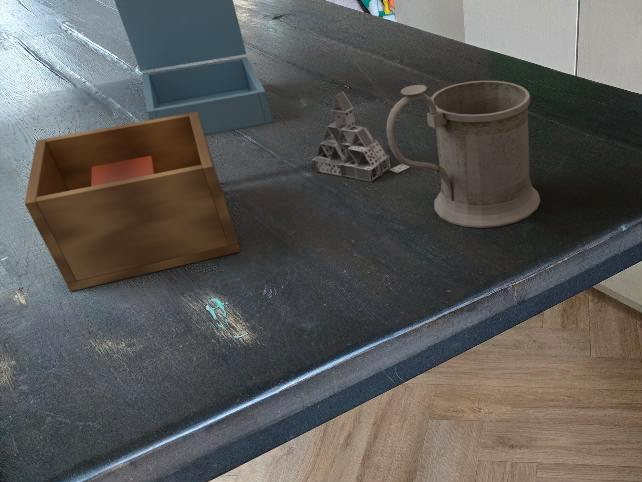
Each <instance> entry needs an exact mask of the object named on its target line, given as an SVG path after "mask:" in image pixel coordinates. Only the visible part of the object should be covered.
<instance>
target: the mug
mask: <svg viewBox="0 0 642 482" xmlns="http://www.w3.org/2000/svg"><path fill="white" fill-rule="evenodd" d="M427 88H428V87H427V86H426V85H424V84H414V85H408V86H406V87H404V88H402V89H401V90H400V94H401V95H404V96H403V97H402V98H401V99H400V100H399V101H397V102H396V103H395V104H394V105H393V106H392V108H391V109H390V112H389V114H388V117H387V121H386V137H387V141H388V145H389V147H390V150H391V152H392V154H393V155H394V158H395V159H396V160H398V162H400V164H404V165H407V166H409V168H413V169H414V168H415V169H424V170H425V169H426V170H431V171H433V172H434V174H436V175H438V177H440V181H441V184H440V192H439V193H438V194H437V196H436V198H435V199H434V202H433V204H434V211H435V213H436V214H437V216H439V218H441V219H442V220H444V221H446V222H447V223H450V224H452V225H456V226H459V227H460V226H461V227H464V228H476V229H488V228H499V227H505V226H508V225H512V224H516V223H518V222H520V221H523V220H524V219H527V218H529V217H530V216H531V215H532V214H534V213H535V212H536V211H537V210H538V209H539V205H540V204H541V197H540V194H539V191H537V189H536V188H534V186H533V185H532V181H531V177H530V173H531V172H530V141H529V140H530V139H529V110H528V109H529V105H530V103H531V95H530V92H529V90H527V89H526V88H525V87H523V86H521V85H519V84H516V83H512V82H508V81H502V80H473V81H467V82H466V81H465V82H461V83H455V84H452V85H449V86H446V87H443V88H441V89H439V90H438V91H436V92H434V93H433V94H432V95H431V96H429V95H428V94H426V93H425V92H426V91H427ZM418 100H421V101H424V103H426V104H427V106H428V108H429V112H427V113H426V119H427V126H428V127H430V128H433V129H435V136H436V145H437V153H438V162H439V164H436V163H435V164H434V163H432V162H427V161H414V160H412V159H409V158H406V157H405V156H404V155H403V154H402V153H401V152H400V150H399V148H398V146H397V142H396V139H395V134H394V133H395V132H394V131H395V130H394V127H395V121H396V118H397V116H398V114H399V113H400V112H401V110H402V109H403V108H404V107H405V106H407V104H410V103H411V102H414V101H418Z"/></svg>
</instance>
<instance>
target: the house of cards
mask: <svg viewBox="0 0 642 482" xmlns="http://www.w3.org/2000/svg"><path fill="white" fill-rule="evenodd" d="M353 109H354V107H353V105H352V103H351V102H350V100H349V98H348V97H347V95H346V93H345V92H344V90H343V91H340V92H339V93H336V94H335V95H334V98H333V101H332V106H331V109H330V111H332V113H333V119H334V122H332V123H331V124H329V125H327V126H326V129H325V134H324V137H323V141H321V142H320V143H319V146H318V150H317V154H316V156H315V157H314V158H312V159H311V161H312V165H313V170H314V173H316V172H317V173H318V172H319V173H324V174H328V175H335V176H338V177H339V176H340V177H341V178H343V177H345V178H346V177H347V178H351V179H356V180H360V181H361V180H362V181H367V182H370V183H371V182H373V181H374V180H376V179H377V178H378V177H380V176H383V175H384V173H385V172H387V170H389V171H392V172H394V173H396V174H399V173H400V172H403V171H405V170H407V169H409V168H410V166H407V165H405V164H403V163H400V164H399V165H396V166H394V167H392V168H391V163H390V162H391V161H390V155H389V154H388V155H387V154H386V152H385V150H384V149H383V147H382V146H381V144H380V142H379V141H378V140H376V139H374V138H373V136H372V135H371V133H370V131H369V130H368V128H367V127H366V126H365V127H363V126H359V125H356V122H355V116H354V112H353V111H354V110H353ZM343 113H344V115H343ZM344 117H345V118H344Z"/></svg>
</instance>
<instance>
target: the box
mask: <svg viewBox="0 0 642 482" xmlns="http://www.w3.org/2000/svg"><path fill="white" fill-rule="evenodd" d="M141 79H142V84H143V93H144V102H145V109H146V114H147V117H148V119H149V120H153V119H159V118H165V117H170V116H176V115H182V114H187V113H188V114H189V113H193V112H198V116H199V119H200V122H201V125H202V128H203V131H204V134H205V136H209V135H213V134H219V133H220V134H221V133H225V132H230V131H231V132H232V131H235V130H241V129H247V128H251V127H252V128H253V127H257V126H263V125H268V124H273V123H274V120H273V115H272V112H271V107H270V104H269V101H268V97H267V93H266V90H265V88H264V86H263V84H262V83H261V81H260V79H259V77H258V75H257V73H256V71H255V70H254V68H253V66H252V64H251V61H250V60H249V58H248V57H247V56H245V57H238V58H231V59H225V60H219V61H213V62H207V63H206V62H205V63H201V64H196V65H188V66H182V67H176V68H171V69H170V68H169V69H162V70H157V71H151V72H144V73H141Z"/></svg>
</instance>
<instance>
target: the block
mask: <svg viewBox="0 0 642 482" xmlns="http://www.w3.org/2000/svg"><path fill="white" fill-rule="evenodd" d="M157 173H158V171H157V168H156V166H155V163H154V160H153V158H152V156H147V157H141V158H136V159H131V160H126V161H120V162H115V163H110V164H105V165H99V166H94V167H92V175H91V186H96V185H101V184H106V183H111V182H116V181H121V180H126V179H131V178H136V177H142V176H147V175H152V174H157Z"/></svg>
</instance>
